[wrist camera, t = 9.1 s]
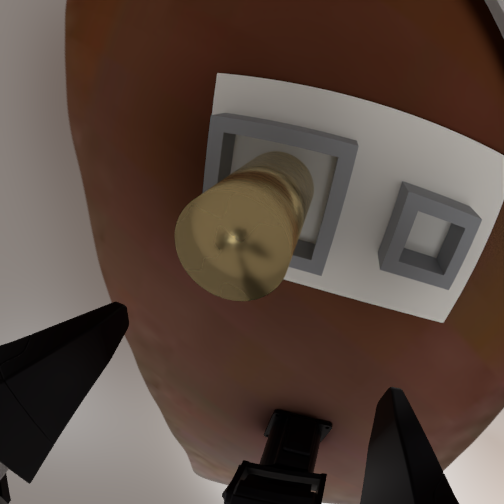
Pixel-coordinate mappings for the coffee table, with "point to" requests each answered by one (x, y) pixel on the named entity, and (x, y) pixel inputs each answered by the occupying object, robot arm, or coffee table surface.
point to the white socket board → (366, 190)
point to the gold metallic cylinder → (246, 227)
